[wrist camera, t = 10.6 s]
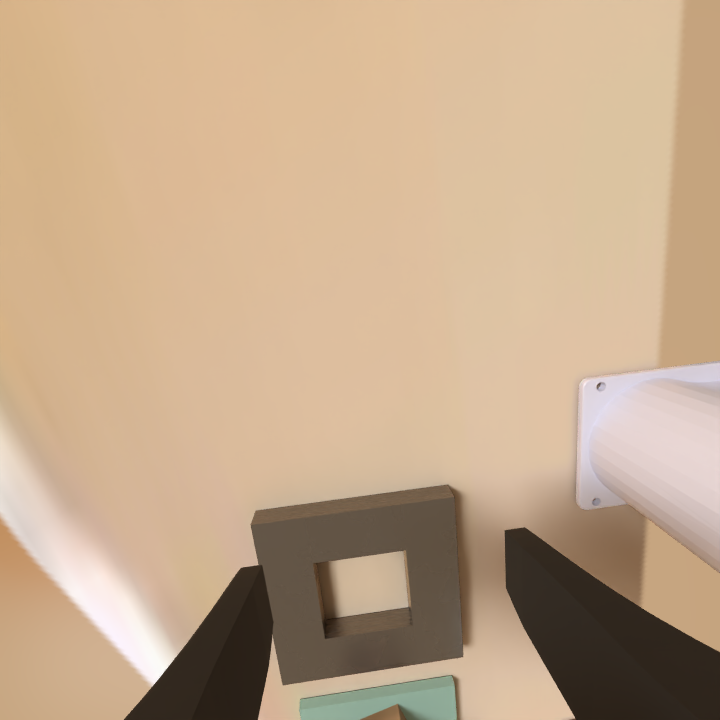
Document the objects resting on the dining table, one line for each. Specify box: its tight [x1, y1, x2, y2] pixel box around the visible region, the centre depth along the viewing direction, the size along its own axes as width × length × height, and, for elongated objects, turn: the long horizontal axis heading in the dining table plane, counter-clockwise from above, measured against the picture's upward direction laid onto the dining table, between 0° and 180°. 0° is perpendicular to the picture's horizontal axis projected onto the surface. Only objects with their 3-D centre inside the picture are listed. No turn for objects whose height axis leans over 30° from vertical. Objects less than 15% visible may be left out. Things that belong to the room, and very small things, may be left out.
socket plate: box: [251, 485, 463, 685], centre depth 21 cm, size 11×11×1 cm
